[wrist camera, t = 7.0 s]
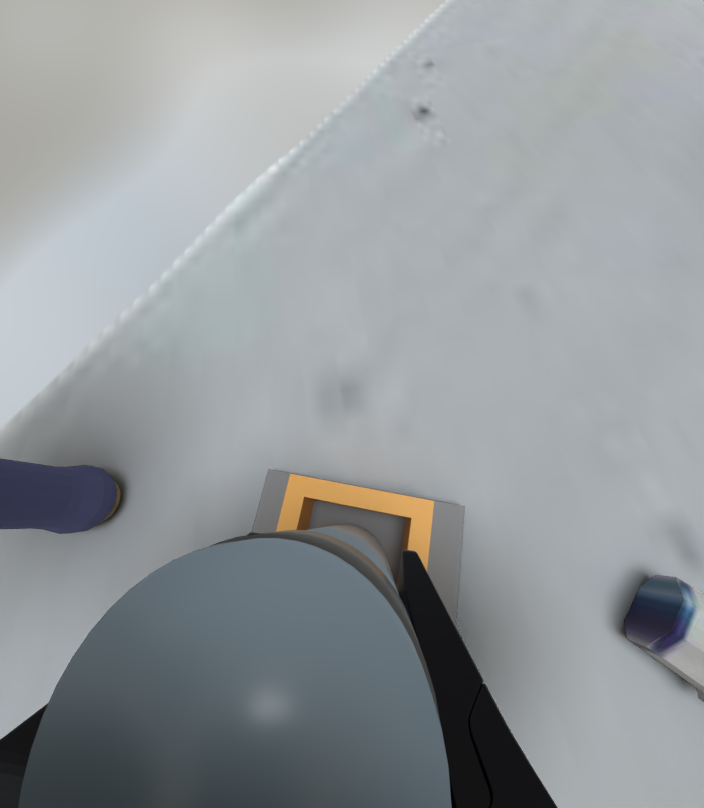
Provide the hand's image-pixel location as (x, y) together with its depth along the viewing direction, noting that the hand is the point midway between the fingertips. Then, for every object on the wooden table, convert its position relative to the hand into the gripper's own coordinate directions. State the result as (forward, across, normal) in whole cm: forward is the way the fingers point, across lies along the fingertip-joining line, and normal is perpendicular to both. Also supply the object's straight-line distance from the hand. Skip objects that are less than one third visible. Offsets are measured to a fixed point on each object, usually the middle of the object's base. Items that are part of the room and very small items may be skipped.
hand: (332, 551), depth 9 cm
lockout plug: (+4, 0, +6) cm, 7 cm away
